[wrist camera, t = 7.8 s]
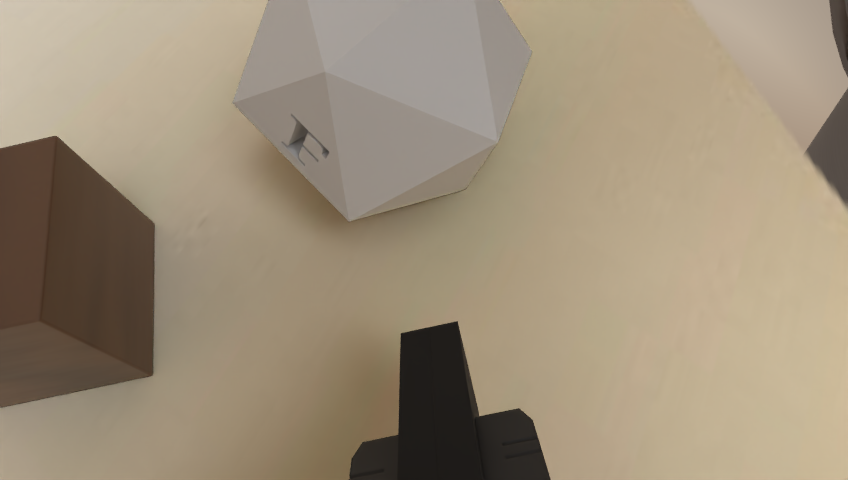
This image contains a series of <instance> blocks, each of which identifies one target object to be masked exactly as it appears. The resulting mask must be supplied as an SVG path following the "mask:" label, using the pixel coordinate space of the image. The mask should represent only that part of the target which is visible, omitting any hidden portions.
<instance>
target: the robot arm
mask: <svg viewBox="0 0 848 480" xmlns="http://www.w3.org/2000/svg"><path fill="white" fill-rule="evenodd" d="M349 480H551V479H550V476H549V473H548V470H547V466H546V463H545V460H544V456H543V453H542V450H541V446H540V443H539V440H538V437H537V433H536V430H535V426H534V423H533V420H532V419H531V418H530V417H529V416H527V415H526V414H525V413H524V412H523V411H522V410H521V409H519V408H518V409H513V410H509V411H504V412H499V413H494V414H489V415H484V416H480V417H479V412H478V407H477V403H476V399H475V395H474V390H473V386H472V382H471V377H470V373H469V369H468V364H467V360H466V356H465V351H464V347H463V343H462V339H461V334H460V330H459V326H458V321H456V322H452V323H447V324H442V325H438V326H433V327H428V328H424V329H419V330H414V331H410V332H405V333H401V347H400V389H399V431H398V435H396V436H391V437H386V438H381V439H376V440H371V441H367V442H363V443H362V444H361V446H360V447H359V449H358V450H357V452H356V453H355V455H354V456H353V458H352V460H351V468H350V479H349Z"/></svg>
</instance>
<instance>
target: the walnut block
mask: <svg viewBox="0 0 848 480" xmlns="http://www.w3.org/2000/svg"><path fill="white" fill-rule="evenodd" d="M153 295H154V223H153V222H152V221H151V220H150V219H149V218H148V217H147V216H145V215H144V214H143V213H142V212H141V211H140V210H139V209H138V208H137V207H135V206H134V205H133V204H132V203H131V202H130V201H129V200H128V199H126V198H125V197H124V196H123V195H122V194H121V193H120V192H119V191H118V190H116V189H115V188H114V187H113V186H112V185H111V184H110V183H109V182H108V181H106V180H105V179H104V178H103V177H102V176H101V175H100V174H99V173H97V172H96V171H95V170H94V169H93V168H92V167H91V166H90V165H89V164H87V163H86V162H85V161H84V160H83V159H82V158H81V157H80V156H79V155H77V154H76V153H75V152H74V151H73V150H72V149H71V148H70V147H68V146H67V145H66V144H65V143H64V142H63V141H62V140H61V139H60V138H58V137H57V136H52V137H48V138H43V139H39V140H35V141H30V142H26V143H22V144H18V145H13V146H9V147H5V148H0V407H5V406H10V405H14V404H19V403H24V402H29V401H33V400H38V399H43V398H48V397H53V396H57V395H62V394H67V393H72V392H76V391H81V390H86V389H91V388H95V387H100V386H105V385H110V384H114V383H119V382H124V381H129V380H133V379H138V378H143V377H148V376H151V375H152V374H153Z"/></svg>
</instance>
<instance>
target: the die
mask: <svg viewBox="0 0 848 480" xmlns="http://www.w3.org/2000/svg"><path fill="white" fill-rule="evenodd" d="M531 54H532V50H531V49H530V47H529V46H528V44H527V43H526V41H525V39H524V38H523V36H522V35H521V33H520V32H519V30H518V29H517V27H516V26H515V24H514V23H513V21H512V20H511V18H510V16H509V15H508V13H507V12H506V10H505V9H504V7H503V6H502V4H501V3H500V1H499V0H268V3H267V6H266V9H265V12H264V14H263V17H262V20H261V23H260V26H259V29H258V31H257V34H256V37H255V40H254V43H253V46H252V48H251V51H250V54H249V57H248V60H247V63H246V65H245V68H244V71H243V74H242V77H241V80H240V82H239V85H238V88H237V91H236V94H235V97H234V100H233V102H232V103H233V104H234V105H235V106H236V107H237V108H238V109H239V110H240V111H241V112H242V113H243V114H244V115H245V117H246V118H247V119H248V120H249V121H250V122H251V123H252V124H253V125H254V126H255V127H256V128H257V129H258V130H259V131H260V132H261V133H262V134H263V135H264V136H265V137H266V138H267V139H268V140H269V141H270V142H271V143H272V144H273V145H274V146H275V147H276V148H277V149H278V150H279V151H280V152H281V153H282V154H283V155H284V156H285V157H286V158H287V159H288V160H289V161H290V162H291V163H292V164H293V165H294V166H295V167H296V168H297V169H298V170H299V171H300V172H301V174H302V175H303V176H304V177H305V178H306V179H307V180H308V181H309V182H310V183H311V184H312V185H313V186H314V187H315V188H316V189H317V190H318V191H319V192H320V193H321V194H322V195H323V196H324V197H325V198H326V199H327V200H328V201H329V202H330V203H331V204H332V205H333V206H334V207H335V208H336V209H337V210H338V211H339V212H340V213H341V214H342V215H343V216H344V217H345V218H346V219H347V220H348V221H349V222H350V221H353V220H357V219H361V218H364V217H368V216H371V215H375V214H379V213H382V212H386V211H389V210H393V209H397V208H400V207H404V206H407V205H411V204H415V203H418V202H422V201H425V200H429V199H433V198H436V197H440V196H443V195H447V194H451V193H454V192H458V191H461V190H465V189H466V188H467V186H468V185H469V184H470V182H471V181H472V179H473V178H474V176H475V175H476V173H477V172H478V170H479V169H480V168H481V166H482V165H483V163H484V162H485V160H486V159H487V157H488V156H489V155H490V153H491V152H492V150H493V149H494V147H495V146H496V144H497V143H498V141H499V138H500V136H501V133H502V130H503V128H504V125H505V122H506V120H507V117H508V114H509V112H510V109H511V107H512V104H513V101H514V99H515V96H516V93H517V91H518V88H519V85H520V83H521V80H522V77H523V75H524V72H525V69H526V67H527V64H528V62H529V59H530V56H531Z"/></svg>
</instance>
